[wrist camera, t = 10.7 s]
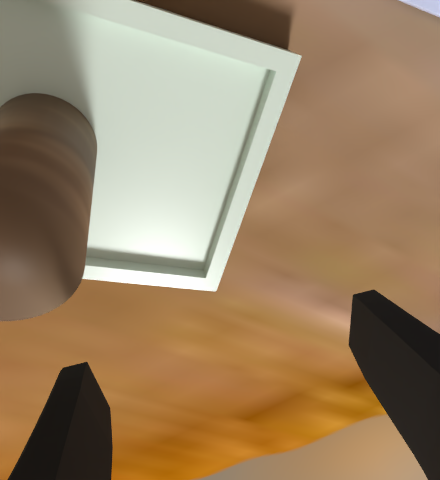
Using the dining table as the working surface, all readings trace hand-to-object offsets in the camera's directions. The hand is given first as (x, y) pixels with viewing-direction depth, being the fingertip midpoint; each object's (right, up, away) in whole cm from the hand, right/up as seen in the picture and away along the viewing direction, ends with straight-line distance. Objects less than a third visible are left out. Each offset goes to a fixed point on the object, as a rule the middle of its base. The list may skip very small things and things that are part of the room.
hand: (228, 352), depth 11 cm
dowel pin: (-7, +7, +5) cm, 11 cm away
